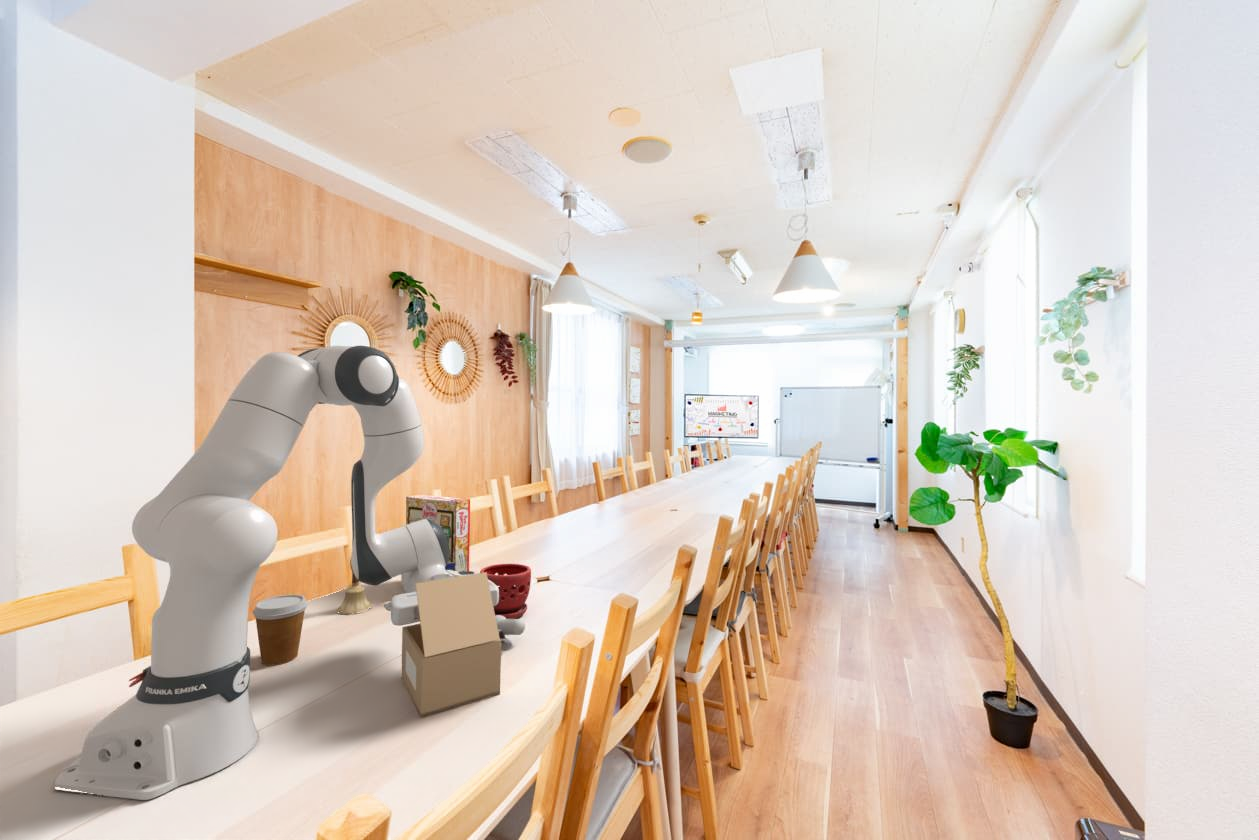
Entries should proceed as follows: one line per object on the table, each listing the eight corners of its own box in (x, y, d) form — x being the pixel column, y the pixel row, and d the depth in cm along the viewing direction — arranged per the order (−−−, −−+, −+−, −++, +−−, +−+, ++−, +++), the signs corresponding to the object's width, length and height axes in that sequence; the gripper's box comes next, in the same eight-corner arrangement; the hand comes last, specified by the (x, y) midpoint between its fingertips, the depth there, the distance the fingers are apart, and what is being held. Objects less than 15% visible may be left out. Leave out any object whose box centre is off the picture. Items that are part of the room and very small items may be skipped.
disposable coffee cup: (246, 658, 106) (248, 601, 106) (299, 644, 113) (300, 590, 113) (257, 674, 100) (258, 613, 100) (312, 658, 107) (313, 601, 107)
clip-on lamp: (441, 655, 116) (495, 657, 107) (435, 627, 116) (489, 628, 107) (480, 632, 126) (533, 633, 117) (475, 607, 126) (527, 605, 117)
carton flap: (415, 584, 93) (415, 583, 93) (485, 572, 101) (486, 572, 100) (424, 657, 87) (425, 656, 86) (499, 639, 94) (499, 639, 94)
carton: (400, 678, 99) (401, 627, 99) (472, 659, 108) (473, 612, 108) (420, 718, 86) (421, 659, 86) (500, 693, 94) (501, 640, 94)
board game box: (469, 588, 153) (471, 498, 153) (454, 594, 147) (456, 501, 147) (419, 578, 161) (421, 493, 161) (403, 584, 155) (405, 496, 155)
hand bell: (378, 607, 136) (379, 548, 136) (347, 617, 129) (348, 554, 129) (361, 601, 140) (362, 543, 140) (330, 610, 133) (331, 549, 133)
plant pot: (538, 617, 132) (539, 571, 132) (488, 627, 124) (489, 579, 124) (519, 601, 142) (519, 559, 142) (472, 610, 135) (473, 565, 135)
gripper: (382, 586, 99) (398, 609, 88) (484, 569, 111) (510, 588, 100) (381, 618, 99) (397, 645, 88) (483, 598, 111) (509, 620, 100)
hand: (458, 614), depth 94 cm, fingers closed, pressing on carton flap
